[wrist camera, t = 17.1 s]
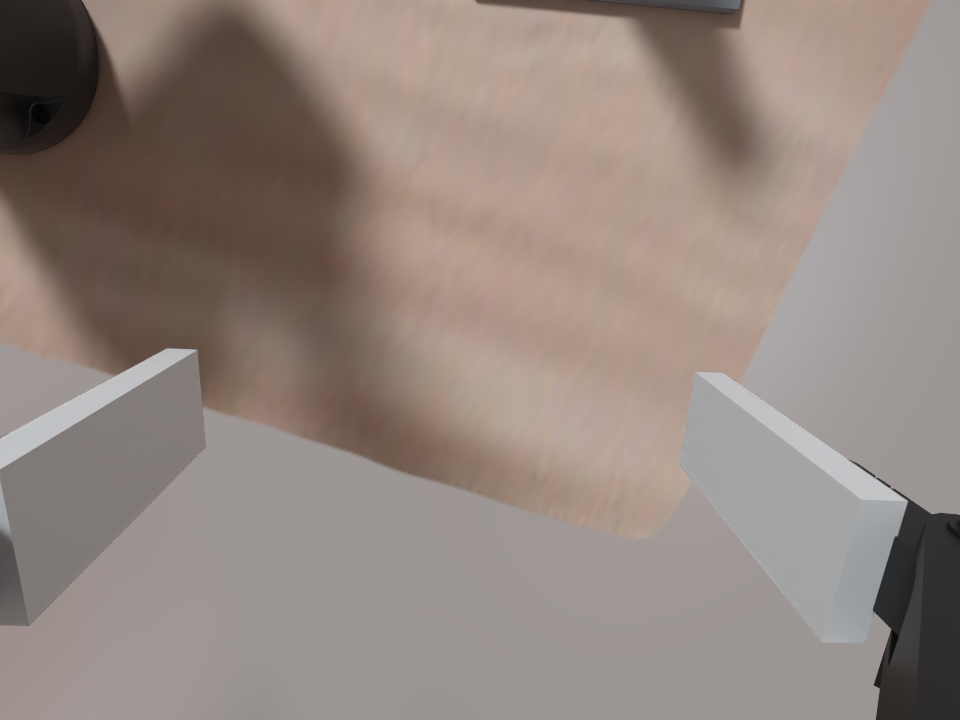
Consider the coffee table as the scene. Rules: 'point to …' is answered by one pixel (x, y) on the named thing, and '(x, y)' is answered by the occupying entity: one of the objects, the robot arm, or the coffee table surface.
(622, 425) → the coffee table surface
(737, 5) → the board
